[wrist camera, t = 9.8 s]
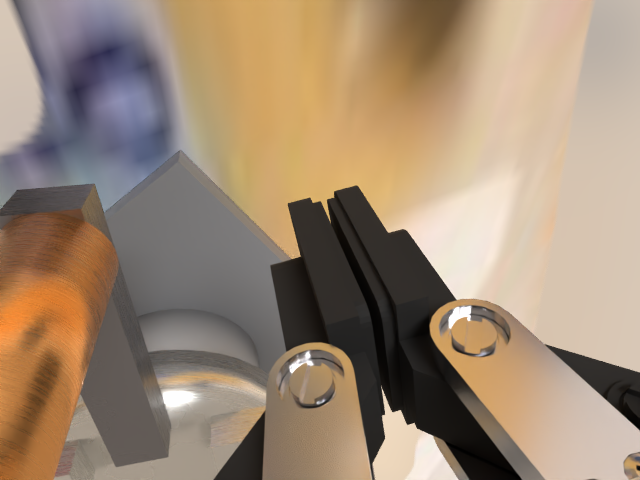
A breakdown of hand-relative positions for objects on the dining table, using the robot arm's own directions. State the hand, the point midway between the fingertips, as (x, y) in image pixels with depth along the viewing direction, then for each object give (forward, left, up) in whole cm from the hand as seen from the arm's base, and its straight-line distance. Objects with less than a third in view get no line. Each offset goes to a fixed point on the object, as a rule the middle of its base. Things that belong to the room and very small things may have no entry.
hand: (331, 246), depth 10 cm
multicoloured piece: (+12, +5, -7) cm, 15 cm away
